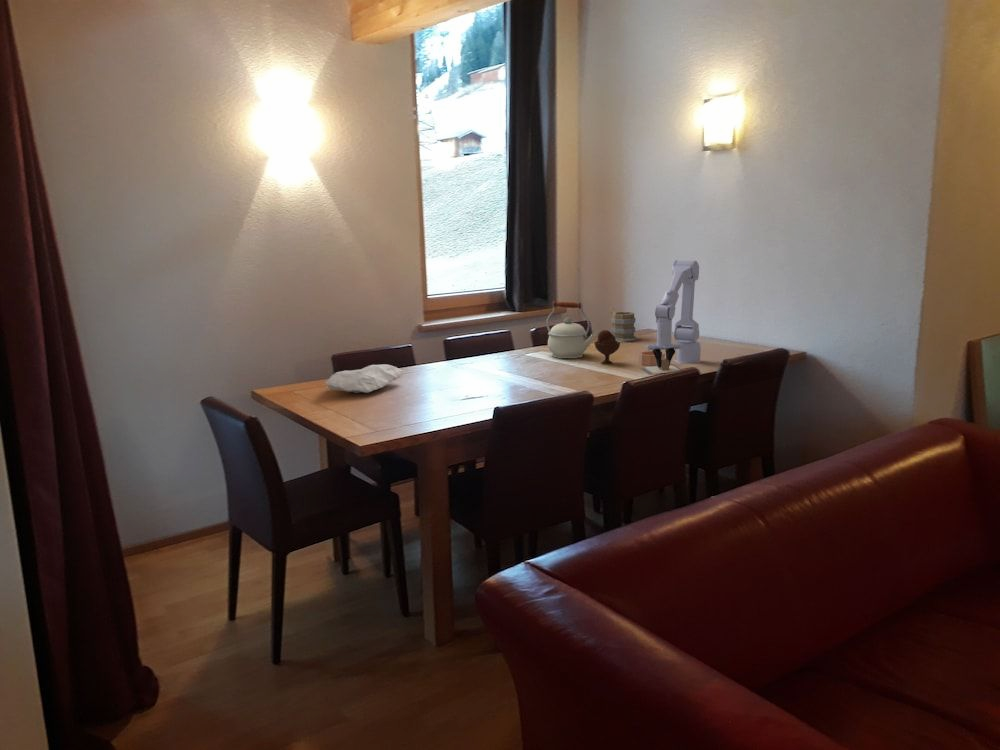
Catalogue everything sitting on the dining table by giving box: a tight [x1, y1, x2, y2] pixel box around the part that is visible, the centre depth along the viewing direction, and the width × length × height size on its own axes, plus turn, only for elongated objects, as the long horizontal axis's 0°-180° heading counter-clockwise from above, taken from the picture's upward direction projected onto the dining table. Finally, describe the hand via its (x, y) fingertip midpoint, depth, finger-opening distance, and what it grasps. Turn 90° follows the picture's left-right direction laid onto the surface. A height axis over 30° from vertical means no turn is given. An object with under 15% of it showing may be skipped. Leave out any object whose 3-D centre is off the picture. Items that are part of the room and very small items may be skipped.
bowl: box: [638, 350, 666, 367], centre depth 323 cm, size 10×10×5 cm
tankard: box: [609, 308, 637, 343], centre depth 387 cm, size 20×13×15 cm, turn 16°
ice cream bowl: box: [594, 329, 621, 365], centre depth 326 cm, size 11×11×15 cm
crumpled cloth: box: [324, 363, 404, 394], centre depth 288 cm, size 24×35×9 cm
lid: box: [643, 357, 679, 375], centre depth 310 cm, size 12×12×5 cm
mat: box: [639, 366, 681, 376], centre depth 310 cm, size 16×12×1 cm
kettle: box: [545, 300, 596, 359], centre depth 343 cm, size 25×18×25 cm
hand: (663, 366), depth 310 cm, fingers closed on lid, 3 cm apart
